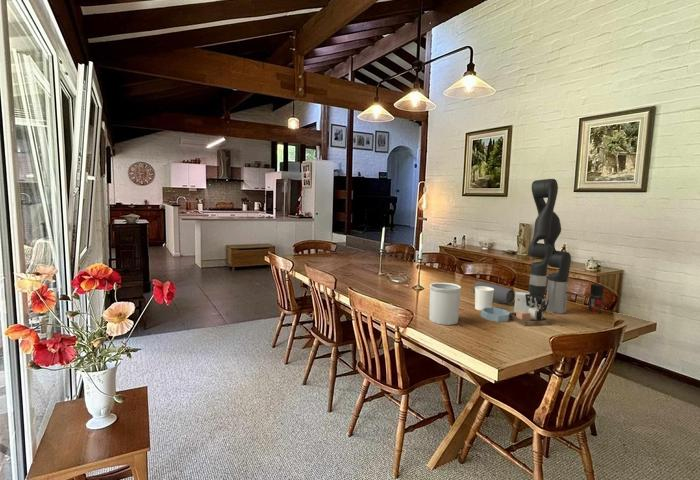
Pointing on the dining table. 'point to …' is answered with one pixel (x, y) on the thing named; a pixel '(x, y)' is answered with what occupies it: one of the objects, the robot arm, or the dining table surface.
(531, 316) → the off-white cube
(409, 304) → the dining table surface
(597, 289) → the deodorant
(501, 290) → the bluetooth speaker
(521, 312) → the tan cube
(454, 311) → the utensil holder
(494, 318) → the ceramic bowl
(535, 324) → the walnut tray
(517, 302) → the small box
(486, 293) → the candle holder
